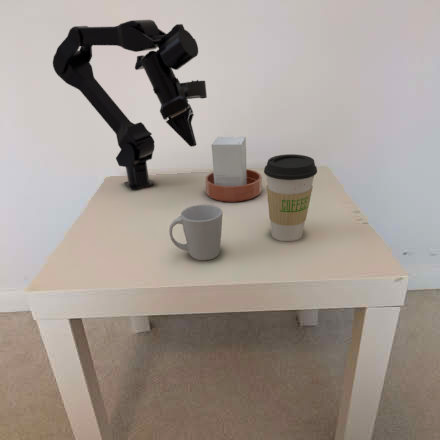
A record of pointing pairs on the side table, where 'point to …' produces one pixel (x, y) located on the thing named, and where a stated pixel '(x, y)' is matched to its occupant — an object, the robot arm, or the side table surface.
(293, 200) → the coffee cup
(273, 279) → the side table surface
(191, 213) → the cup
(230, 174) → the white packaging box
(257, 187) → the bowl
